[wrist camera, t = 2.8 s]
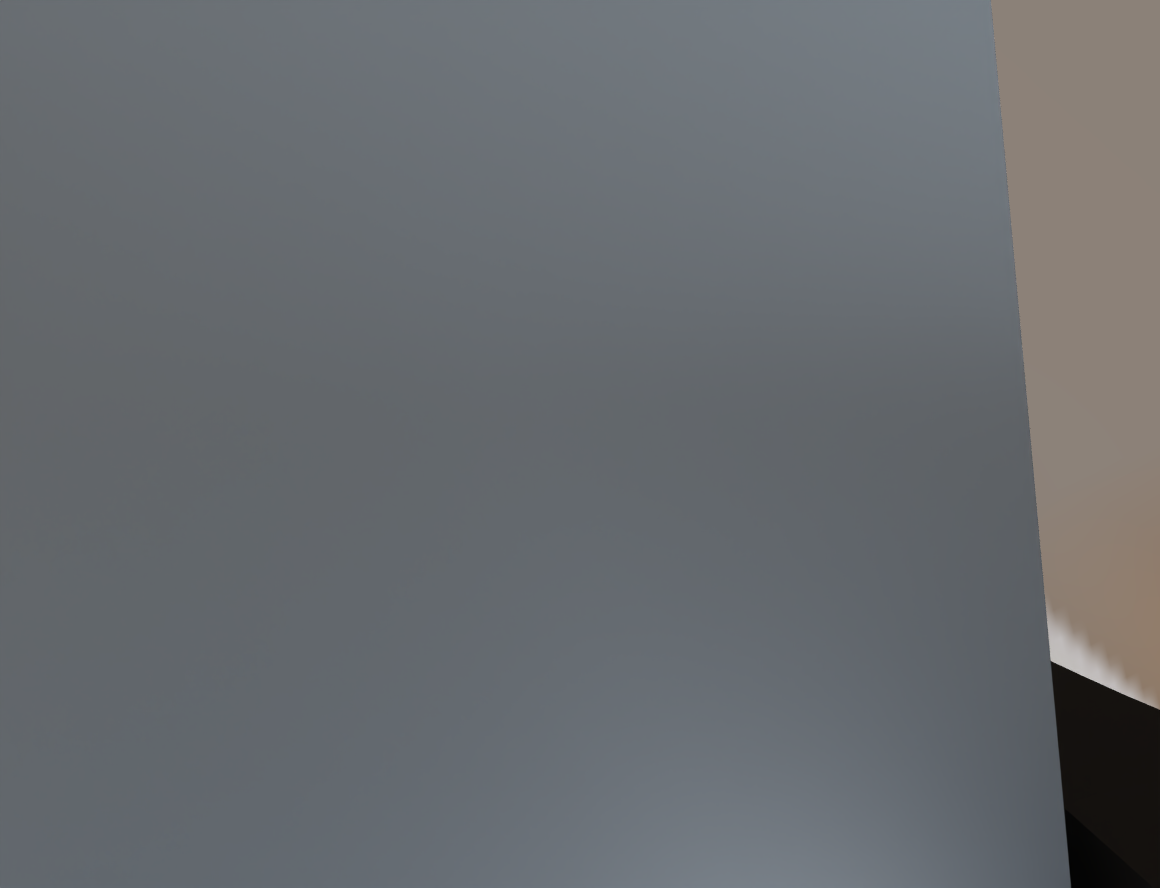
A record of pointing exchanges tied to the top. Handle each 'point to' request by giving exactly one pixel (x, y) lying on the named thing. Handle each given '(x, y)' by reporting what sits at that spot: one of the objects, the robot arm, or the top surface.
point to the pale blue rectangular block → (515, 449)
